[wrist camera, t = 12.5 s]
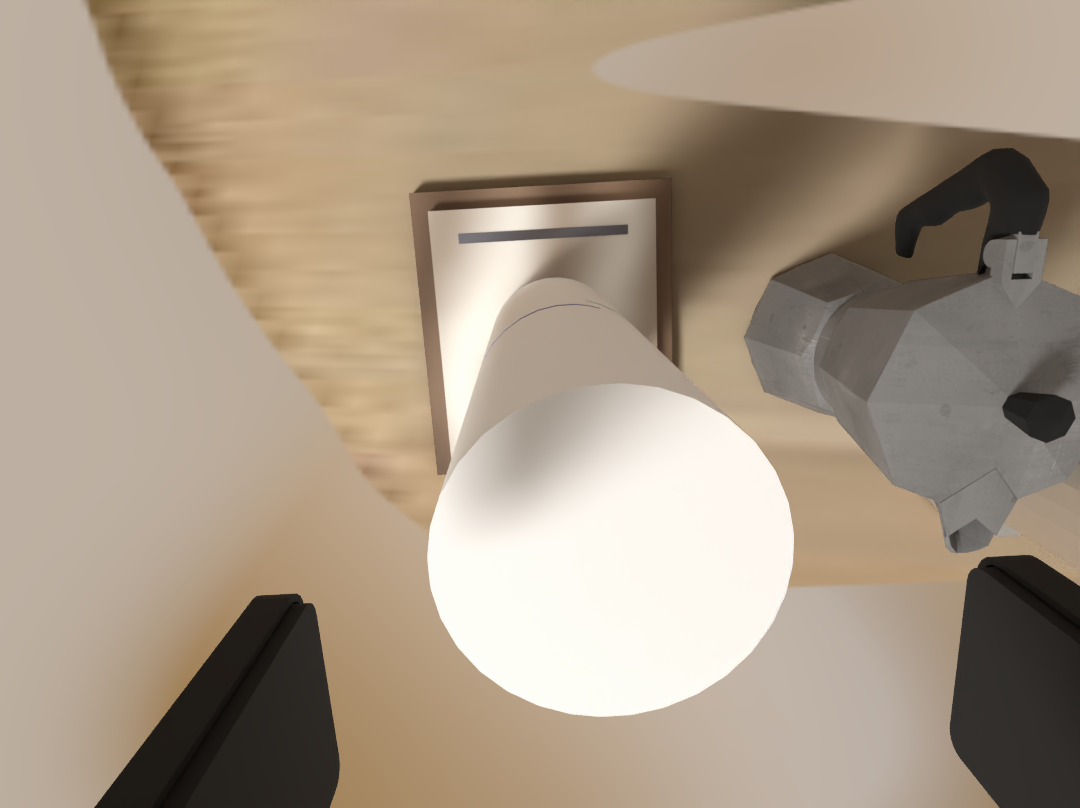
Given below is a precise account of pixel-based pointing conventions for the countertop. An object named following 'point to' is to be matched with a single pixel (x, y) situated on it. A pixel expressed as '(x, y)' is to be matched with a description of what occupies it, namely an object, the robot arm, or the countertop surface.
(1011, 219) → the coffeepot
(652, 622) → the cylindrical container
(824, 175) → the countertop surface
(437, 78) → the countertop surface
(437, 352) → the notepad
